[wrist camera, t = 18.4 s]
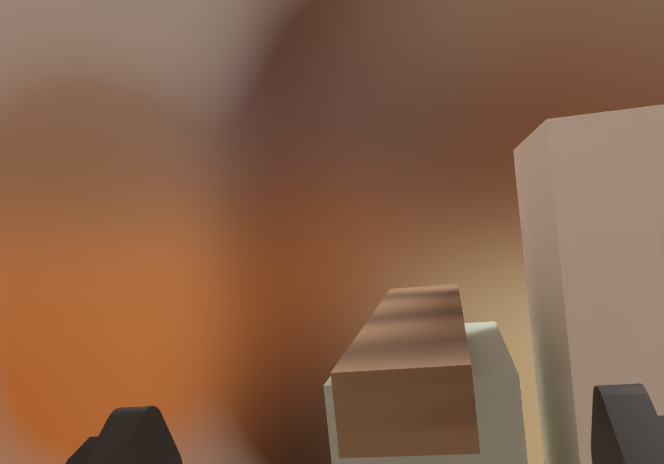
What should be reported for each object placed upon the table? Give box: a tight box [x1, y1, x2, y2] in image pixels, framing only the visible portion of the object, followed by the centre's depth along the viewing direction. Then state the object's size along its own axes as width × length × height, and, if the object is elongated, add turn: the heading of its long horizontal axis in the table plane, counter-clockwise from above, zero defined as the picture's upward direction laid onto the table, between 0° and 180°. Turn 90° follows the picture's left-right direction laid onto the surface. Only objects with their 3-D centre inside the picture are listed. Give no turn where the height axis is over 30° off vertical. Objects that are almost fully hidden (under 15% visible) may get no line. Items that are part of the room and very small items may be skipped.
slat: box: [331, 284, 480, 458], centre depth 27 cm, size 20×4×2 cm, turn 170°
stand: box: [324, 105, 664, 464], centre depth 31 cm, size 12×18×32 cm
